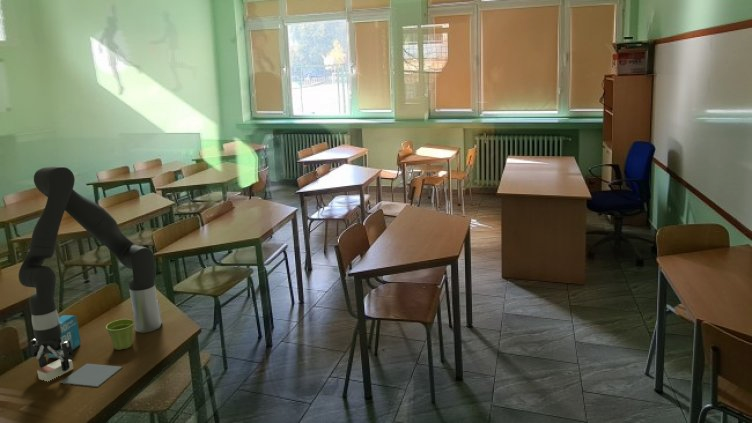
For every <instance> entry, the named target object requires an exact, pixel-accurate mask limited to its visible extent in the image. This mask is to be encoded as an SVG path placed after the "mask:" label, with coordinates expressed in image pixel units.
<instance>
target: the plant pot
mask: <svg viewBox="0 0 752 423" xmlns="http://www.w3.org/2000/svg"><path fill="white" fill-rule="evenodd" d="M134 325H135V322H134V319H131V318H130V319H129V318H120V319H117V320H113V321H111V322H108V323H107V325H106V326H105V330H107V332H108V334H109V336H110V339H111V343H112V345H113V348H114V350H123V349H125V350H127V349H128V348H130V347H132V346H133V328H134Z"/></svg>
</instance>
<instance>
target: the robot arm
mask: <svg viewBox="0 0 752 423" xmlns="http://www.w3.org/2000/svg"><path fill="white" fill-rule="evenodd" d="M75 179H76V178H75V175H74V173H73V171H72V170H71V169H69V168H68V167H66V166H61V165H58V166H47V167H46V166H45V167H41V168H39V169H38V170H36V171H35V173H34V175H33V184H34V186H35V188H36V189H37V190H38V191H39V192H40V193H41V194H43V195H44V196H45V197H47V200H46V203H45V207H44V208H43V211H42V213H41V215H40V217H39V218H38V220H37V222H36V224H35V226H34V229H33V231H32V234H31V239H30V245H29V248H28V249H29V250H28V252H27V254H26V256H25V258H24V260H23V261H22V264H21V266H20V268H19V271H18V281H19V283H20V284H21V285H22V286H24V287H26V288H35V289H36V293H33V294H32V295H30V297H29V299H28V304H29V310H30V314H31V325H32V329H33V335H34V338H32V339H31V340H30V341H29V342H28V343H29V349H30V355H31V358H36V360H38V365H39V367H40V368H42V367H44V366H46V365H48V361H47V354H48V353H50V354H54V355H55V356H56V357H58V358H57V359H58V360H59V359H60V360H61V366H62V371H66V370H68V369H69V367H70V365H69V360H68V359H70V360H71V358H73V357H74V352H73V351H74V350H72V347H71V343H70V341H69V340H67V341H66V342H63V341H62V340H61V338H60V337H61V334H62V332H61V327H60V322H59V317H60V316H59V312H58V310H57V307H56V301H55V292H56V282H57V277H56V273H55V271H54V269H53V268H51V267H50V266H48V265H43V263H44V261H45V260H47V259H51V258H53V256H54V255H55V251H56V246H57V241H58V235H59V231H60V226H61V223H62V220H63V216H64V214H65V212H66V213H67V214H68V215H69V216H70V217H71V218H72V219H74V221H76V222H77V223H78V224H79V225H80V227H82V228H83V229H84V230H85V231H86V232H88V234H90V235H91V236H92V238H95V239H96V240H97V241H98V242H99V243H101V244H102V245H103V246H105V247H106V248H107V249H109V251H110V252H111V253H112V254H113V255H114V257H116V258H117V260H118V261H119V262H120V263H121V264H122V265H123V266H124V267H126V268H127V269H130V270H132V278H131V279H130V280H129V281H128V288H129V289H128V290H129V295H130V302H131V306H132V314H133V321H134V328H135V332H137V333H139V334H140V333H141V334H143V333H144V334H145V333H150V332H154V331H157V330H158V329H160V328H161V326H162V324H163V320H162V314H161V306H160V301H159V300H158V295H157V289H156V277H157V273H156V271H157V270H156V260H155V255H154V253H153V250H151V249H150V248H149V247H145V246H141V245H138V244H136V243H134V242H133V241H131V240H130V239H129V238H128V237H127V236H125V235H124V234H123V233H122V231H121V229H120V226H119V224H118V222H117V221H116V219H115V218H114V217H113V216H112V215H111V214H110V213H109V212H108V211H107V210H106V209H104V207H103V206H101V205H100V204H98V203H96V202H94V201H92V200H91V199H89V198H87V197H86V196H83V195H81V194H80V193H78V192H77V191H76V190H75V189H74V186H75ZM59 350H61V352H59V353H58V351H59ZM68 352H69V353H68ZM61 354H63V356H64V357H63V356H62V355H61ZM40 368H39V369H40Z"/></svg>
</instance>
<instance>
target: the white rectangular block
mask: <svg viewBox="0 0 752 423" xmlns="http://www.w3.org/2000/svg"><path fill="white" fill-rule="evenodd" d="M68 360H69V365H70V367H69V369H68V370H66V371H62V366H61V360H60V359H59V358H58V359H57V360H55V361H52V362H50V363H49V364H48V363H47V365H46V366H44V367H42V368H38V369H36V372H37V377H38V380H41V381H43V380H44V382H46V381H47V383H49V382H50V380H51V381H53V380H55V379H57V378H59V377H60V376H63V375H64V374H67V373H69V372H70V371H72V370H74V365H73V360H72V359H71V358H70V359H68ZM58 376H59V377H58ZM56 377H57V378H56ZM54 378H55V379H54ZM52 379H53V380H52ZM48 381H49V382H48Z"/></svg>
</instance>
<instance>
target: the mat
mask: <svg viewBox="0 0 752 423" xmlns="http://www.w3.org/2000/svg"><path fill="white" fill-rule="evenodd" d="M122 369H123V366H118V365H107V364H106V365H105V364H95V363H85V364H84V365H82V366H81V367H80V368H78V369H76V371H73V373H71V374H70V375H68V376H67V377H66V378H64V379H62V380H61V381H60V383H59V384H61V383H63V385H71V384H73V385H72V386H81V385H82V387H92V388H99V387H100V386H101V385H103V384H104V383H105V382H106V381H108V380H109V379H110V378H112V377H113V376H114V375H116V374H117V373H118V372H120V371H121V370H122Z"/></svg>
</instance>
